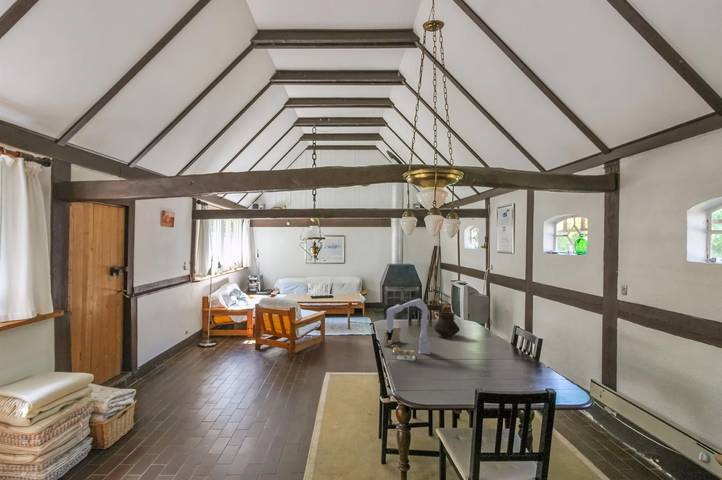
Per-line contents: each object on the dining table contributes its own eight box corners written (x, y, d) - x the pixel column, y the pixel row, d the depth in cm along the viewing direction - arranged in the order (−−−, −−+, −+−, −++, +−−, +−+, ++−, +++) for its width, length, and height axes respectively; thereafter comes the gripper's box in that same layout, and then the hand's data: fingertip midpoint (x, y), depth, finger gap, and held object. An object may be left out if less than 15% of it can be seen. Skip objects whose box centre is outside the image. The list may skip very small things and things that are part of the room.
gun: (385, 347, 321) (386, 329, 322) (382, 346, 323) (383, 328, 324) (400, 343, 340) (401, 327, 341) (397, 343, 342) (398, 326, 343)
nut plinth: (402, 351, 309) (402, 349, 309) (401, 354, 300) (401, 353, 300) (391, 350, 310) (391, 349, 310) (390, 353, 301) (390, 352, 301)
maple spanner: (413, 355, 297) (413, 350, 297) (413, 356, 293) (413, 351, 293) (399, 354, 299) (400, 349, 299) (399, 356, 294) (399, 351, 295)
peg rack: (415, 357, 292) (415, 352, 292) (415, 360, 283) (415, 355, 283) (397, 356, 294) (397, 351, 294) (396, 359, 285) (396, 354, 285)
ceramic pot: (464, 337, 355) (464, 314, 355) (446, 340, 343) (446, 316, 343) (446, 332, 376) (446, 310, 376) (428, 335, 364) (428, 312, 364)
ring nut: (400, 352, 302) (400, 348, 302) (392, 351, 302) (392, 347, 302) (400, 349, 310) (400, 345, 310) (393, 349, 311) (393, 345, 311)
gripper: (385, 320, 316) (385, 336, 316) (384, 324, 302) (384, 341, 301) (394, 321, 315) (394, 337, 315) (393, 324, 301) (393, 341, 301)
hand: (389, 339), depth 308 cm, fingers open, 7 cm apart
